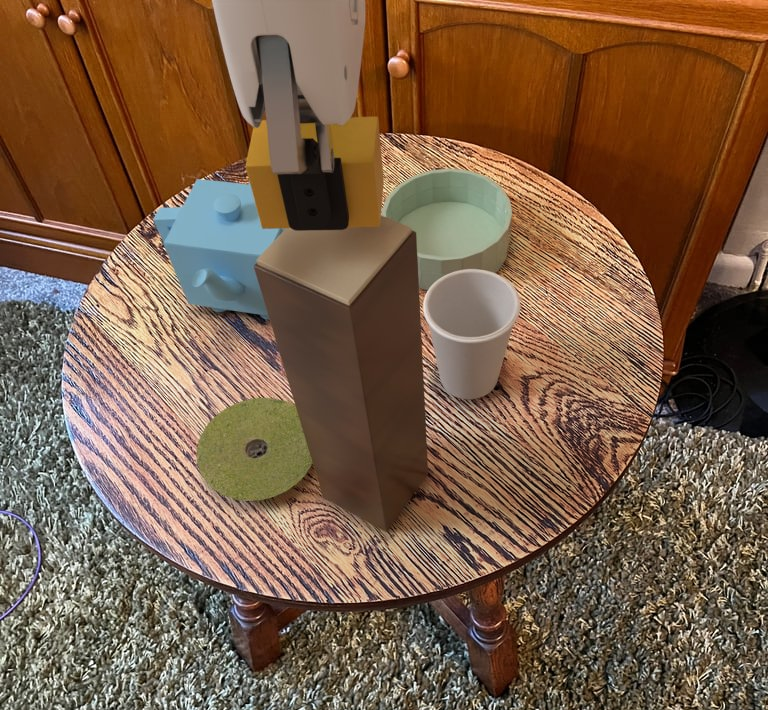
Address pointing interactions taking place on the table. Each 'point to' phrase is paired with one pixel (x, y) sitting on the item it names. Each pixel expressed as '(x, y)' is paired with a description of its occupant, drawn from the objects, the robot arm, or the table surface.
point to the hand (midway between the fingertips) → (323, 195)
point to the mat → (254, 450)
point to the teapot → (217, 246)
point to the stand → (353, 359)
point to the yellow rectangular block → (350, 144)
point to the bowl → (453, 221)
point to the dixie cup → (470, 329)
